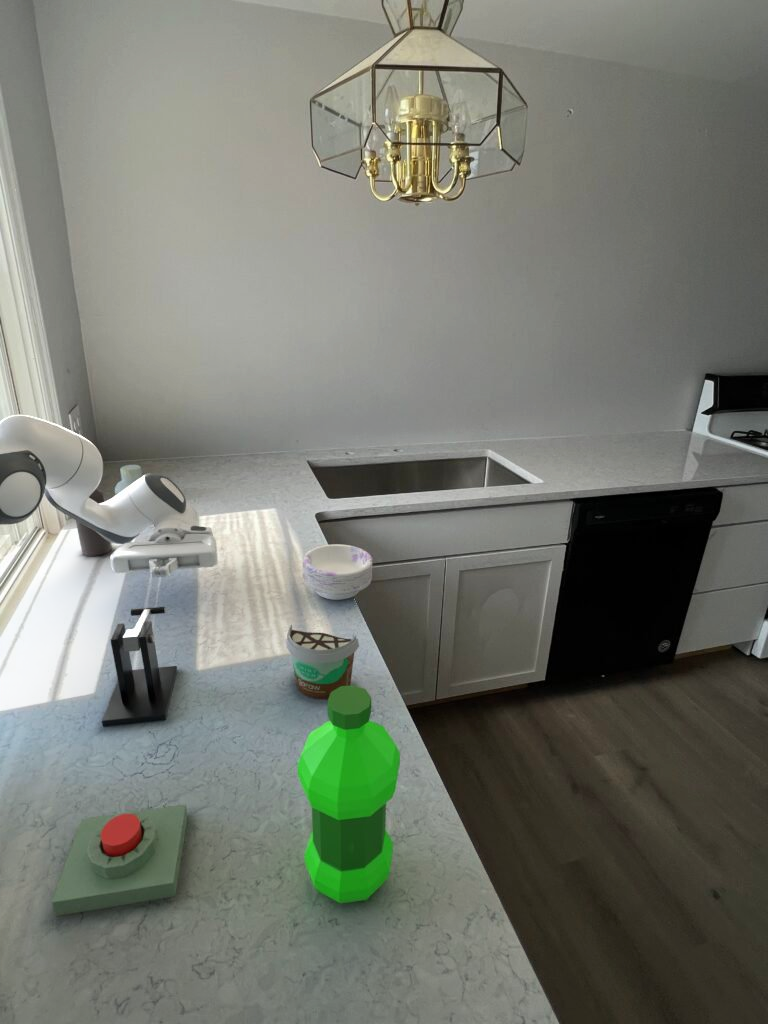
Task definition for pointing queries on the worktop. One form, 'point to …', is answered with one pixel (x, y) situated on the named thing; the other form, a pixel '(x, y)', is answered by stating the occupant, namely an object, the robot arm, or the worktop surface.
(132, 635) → the lever
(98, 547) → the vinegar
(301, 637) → the food container
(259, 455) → the worktop surface
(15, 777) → the worktop surface
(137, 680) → the bracket
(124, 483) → the air freshener
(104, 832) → the button
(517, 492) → the worktop surface
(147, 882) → the button box
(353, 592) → the paper bowls
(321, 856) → the plastic bottle
